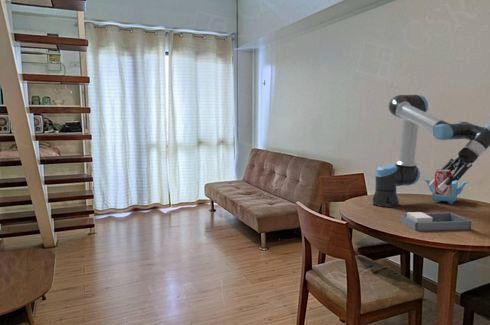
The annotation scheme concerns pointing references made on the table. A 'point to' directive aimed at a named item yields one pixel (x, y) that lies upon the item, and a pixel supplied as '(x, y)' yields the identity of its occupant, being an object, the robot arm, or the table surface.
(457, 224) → the tote
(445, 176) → the soda can
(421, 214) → the cream rectangular box
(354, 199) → the table surface
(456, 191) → the teakettle
